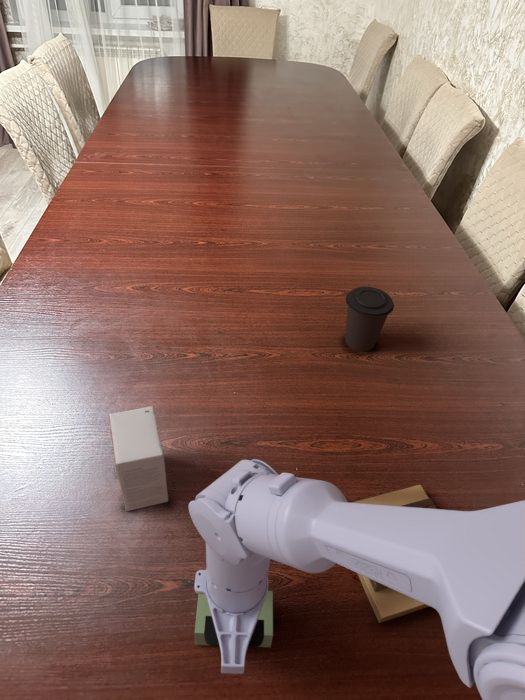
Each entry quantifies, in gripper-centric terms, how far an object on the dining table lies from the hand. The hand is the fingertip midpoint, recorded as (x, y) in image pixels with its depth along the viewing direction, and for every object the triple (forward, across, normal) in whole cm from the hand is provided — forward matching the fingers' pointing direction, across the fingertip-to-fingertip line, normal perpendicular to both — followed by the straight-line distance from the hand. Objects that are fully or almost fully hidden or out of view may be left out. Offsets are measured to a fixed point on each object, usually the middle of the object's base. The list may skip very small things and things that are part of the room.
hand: (234, 618), depth 56 cm
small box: (+2, -17, -13) cm, 22 cm away
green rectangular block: (+1, 0, 0) cm, 1 cm away
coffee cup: (+2, -48, +20) cm, 52 cm away
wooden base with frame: (+2, -9, +20) cm, 22 cm away
